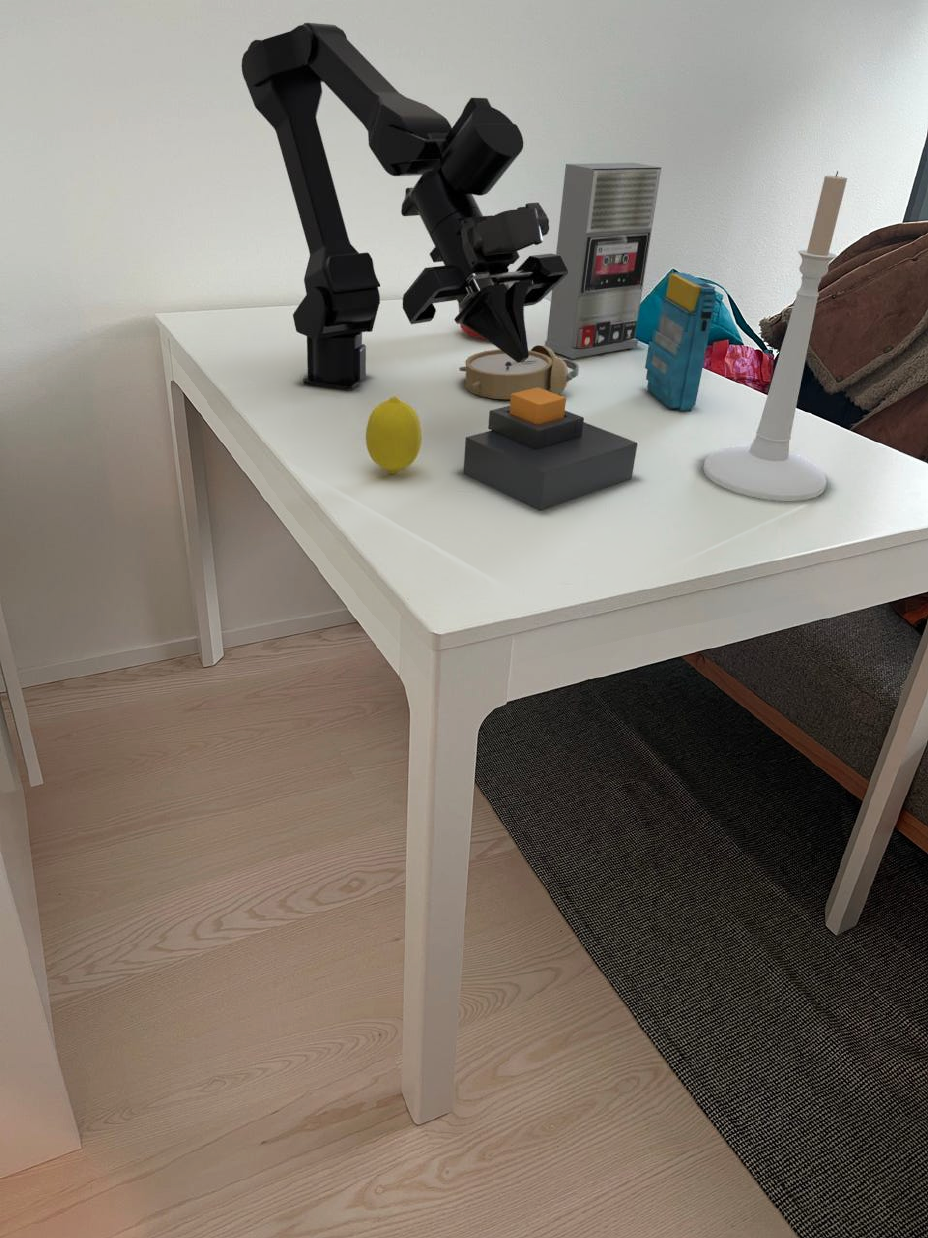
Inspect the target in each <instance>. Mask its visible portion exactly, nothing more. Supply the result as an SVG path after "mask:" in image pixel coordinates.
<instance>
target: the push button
mask: <svg viewBox="0 0 928 1238" xmlns="http://www.w3.org/2000/svg"><path fill="white" fill-rule="evenodd" d="M509 412H510V405H506V406H502V407H499V408H494V409H491V410H489V414H488V425H487V428H488V431H484V432H481V433H476V434H473V435H469V436H466V437H465V441H464V443H465V444H464V455H463V457H464V458H463V470H462V471H463V473H462V474H463V475H465V476H466V477H469V478H471V479H473V480H475V481H477V482H479V483H481V484H483V485H485V486H488V487H489V488H492V489H494V490H495V491H498V492H500V493H502V494H504V495H506V496H509V497H510V498H513V499H514V500H517V501H519V502H521V503H523V504H525V505H527V506H529V507H531V508H533V509H535V510H537V511H539V512H541V511H544V510H547V509H550V508H552V507H556V506H558V505H562V504H565V503H566V502H570V501H573V500H575V499H578V498H581V497H584V496H587V495H589V494H592V493H596V492H598V491H601V490H604V489H607V488H610V487H613V486H615V485H618V484H621V483H624V482H626V481H630V480H632V479H633V473H634V467H635V461H636V455H637V450H638V442H636V441H635V440H632V439H629V438H626V437H624V436H621V435H619V434H616V433H613V432H610V431H608V430H605V429H603V428H601V427H597V426H595V425H592V424H590V423H587V422H584V420H585V417H583V416H581V415H578V414H576V413H574V412H571V411H567V410H565V412H564V418H561V419H557V420H554V421H550V422H546V423H543V424H539V425H536V424H534V423H532V422H529V421H527V420H524V419H522V418H519V417H517V416H514V415H512V414H509Z"/></svg>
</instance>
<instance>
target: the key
mask: <svg viewBox="0 0 928 1238" xmlns="http://www.w3.org/2000/svg"><path fill="white" fill-rule="evenodd" d="M566 402H567V397H565V396H563V395H560V394H558V395H557V394H555V393H552V392H551V391H550V390H549V391H547V390H544V389H541V388H538V387H537V388H533V389H529V390H525V391H521V392H516V393H512V394H511V399H510V404H509V406H510V412H509V414H512V415H514V416H517V417H519V418H522V419H524V420H527V421H529V422H532V423H534V424H536V425H539V424H543V423H546V422H550V421H554V420H557V419H561V418H564V412H565V411H566Z"/></svg>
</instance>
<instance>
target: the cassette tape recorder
mask: <svg viewBox="0 0 928 1238" xmlns="http://www.w3.org/2000/svg"><path fill="white" fill-rule="evenodd" d="M661 173H662V167H660V166H654V165H649V164H643V163H637V162H605V163H602V162H601V163H600V162H599V163H597V162H595V163H565V168H564V176H563V177H564V178H563V187H562V195H561V196H562V197H561V206H560V216H559V224H558V233H557V234H558V235H557V243H556V251H555V254H556V255H560V256H561V258H562V260H563V262H564V264H565V266H566V268H567V270H568V274H567V275H566V276H565V277H564V278H563V279H562V280H561V281H560V282H559V283H558V284H557V285H556V286H555V287H554V288H553V289H552V290H551V297H550V307H549V316H548V324H547V333H546V334H547V335H546V340H544V346H547V347H549V348H550V349H551V350H552V351H553V352H554V353H556V354H558V355H559V354H560V355H562V356H564V357H567V358H569V360H576V359H577V358H583V357H588V356H594V355H599V354H604V353H611V352H616V351H621V350H622V351H623V350H627V349H632V350H633V349H635V348H637V347H638V345H639V339H638V338H636V332H637V328H638V327H637V326H638V320H639V314H640V307H641V301H642V294H643V288H644V281H645V275H646V269H647V262H648V256H649V248H650V244H651V238H652V237H651V236H652V229H653V223H654V217H655V212H656V211H655V210H656V205H657V200H658V199H657V198H658V194H659V193H658V192H659V187H660V179H661Z"/></svg>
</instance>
